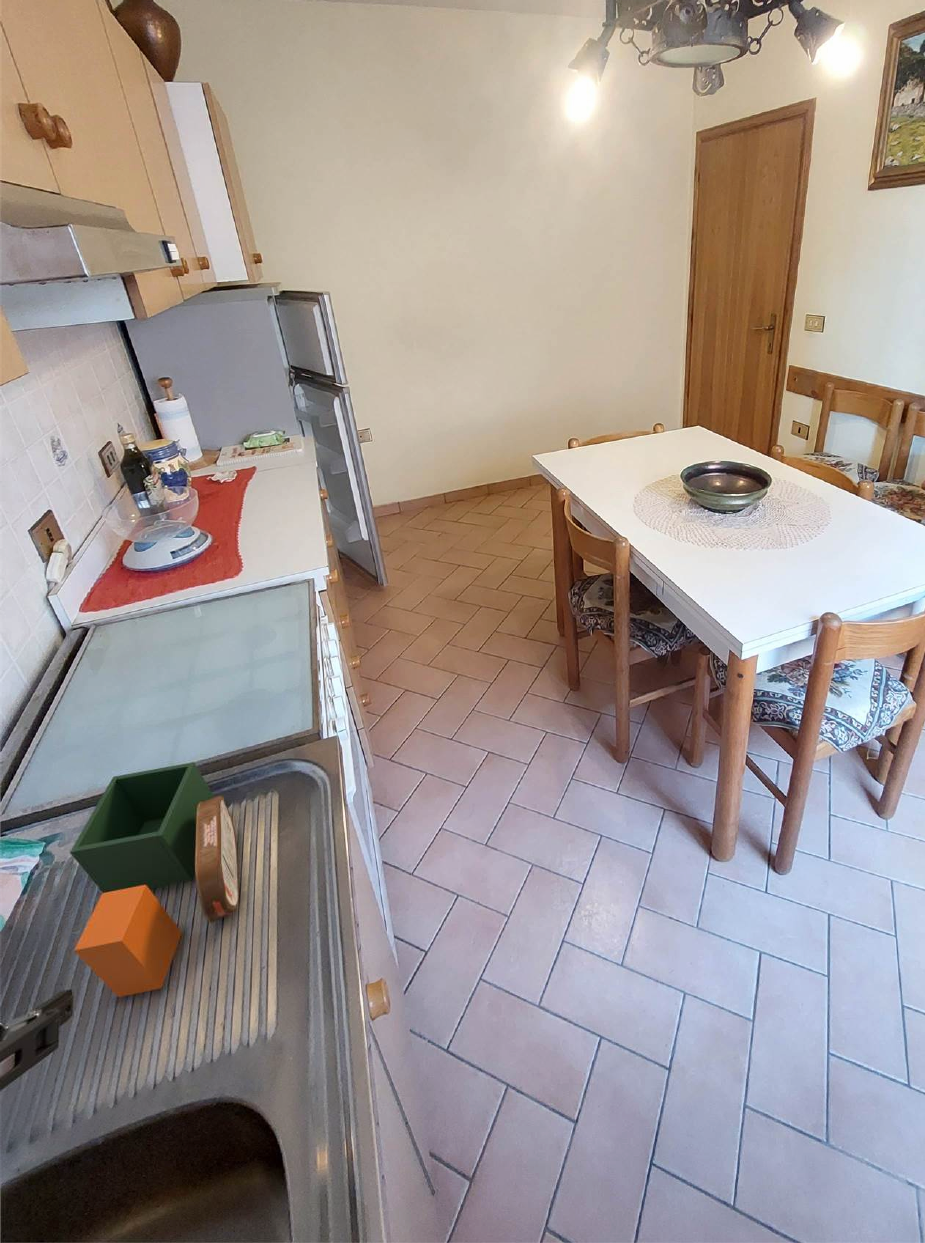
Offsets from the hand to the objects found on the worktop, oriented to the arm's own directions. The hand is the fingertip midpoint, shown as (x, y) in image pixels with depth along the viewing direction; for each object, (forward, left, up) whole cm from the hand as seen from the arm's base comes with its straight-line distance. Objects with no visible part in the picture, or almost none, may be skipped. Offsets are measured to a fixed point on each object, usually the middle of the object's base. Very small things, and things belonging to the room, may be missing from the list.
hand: (13, 1015), depth 48 cm
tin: (+6, +19, -16) cm, 26 cm away
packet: (0, +11, -16) cm, 19 cm away
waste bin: (-4, +25, -16) cm, 30 cm away
